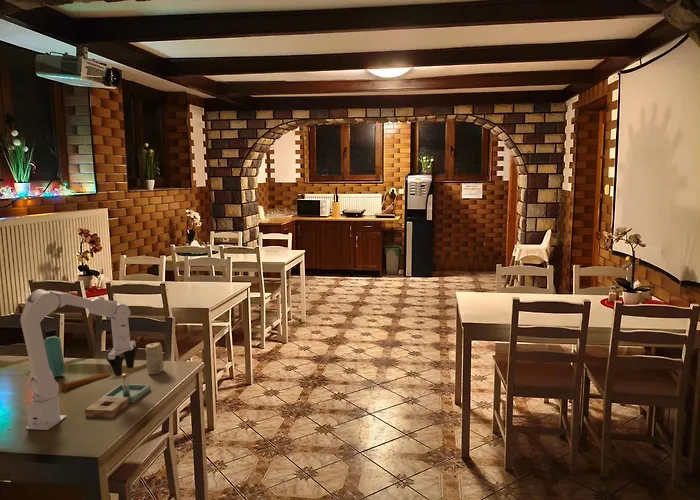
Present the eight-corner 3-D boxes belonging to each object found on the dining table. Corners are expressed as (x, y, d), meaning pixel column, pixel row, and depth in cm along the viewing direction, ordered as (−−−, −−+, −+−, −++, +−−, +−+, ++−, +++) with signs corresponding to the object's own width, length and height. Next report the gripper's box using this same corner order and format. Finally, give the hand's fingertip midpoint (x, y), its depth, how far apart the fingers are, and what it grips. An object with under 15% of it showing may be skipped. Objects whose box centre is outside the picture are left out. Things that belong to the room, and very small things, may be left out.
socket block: (112, 417, 180) (111, 410, 180) (85, 416, 182) (84, 409, 181) (129, 404, 190) (128, 397, 190) (103, 403, 191) (102, 397, 191)
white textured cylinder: (145, 376, 216) (142, 347, 214) (150, 369, 224) (147, 341, 222) (161, 375, 217) (158, 346, 215) (166, 368, 224) (163, 340, 222)
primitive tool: (104, 374, 221) (103, 365, 221) (112, 376, 219) (112, 368, 218) (59, 391, 205) (58, 382, 204) (68, 394, 202) (67, 385, 202)
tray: (133, 403, 191) (132, 398, 190) (102, 402, 193) (101, 397, 192) (150, 389, 202) (150, 384, 202) (121, 388, 204) (120, 383, 204)
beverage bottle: (64, 378, 216) (59, 330, 213) (45, 381, 214) (39, 333, 211) (66, 373, 222) (61, 326, 219) (48, 375, 220) (42, 328, 217)
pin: (128, 396, 195) (125, 375, 194) (120, 396, 196) (118, 375, 195) (132, 393, 198) (130, 372, 197) (125, 393, 199) (122, 372, 198)
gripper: (119, 342, 186) (123, 379, 188) (141, 329, 201) (145, 364, 203) (101, 341, 187) (104, 378, 189) (124, 329, 202) (127, 364, 204)
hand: (124, 371), depth 196 cm, fingers open, 7 cm apart
